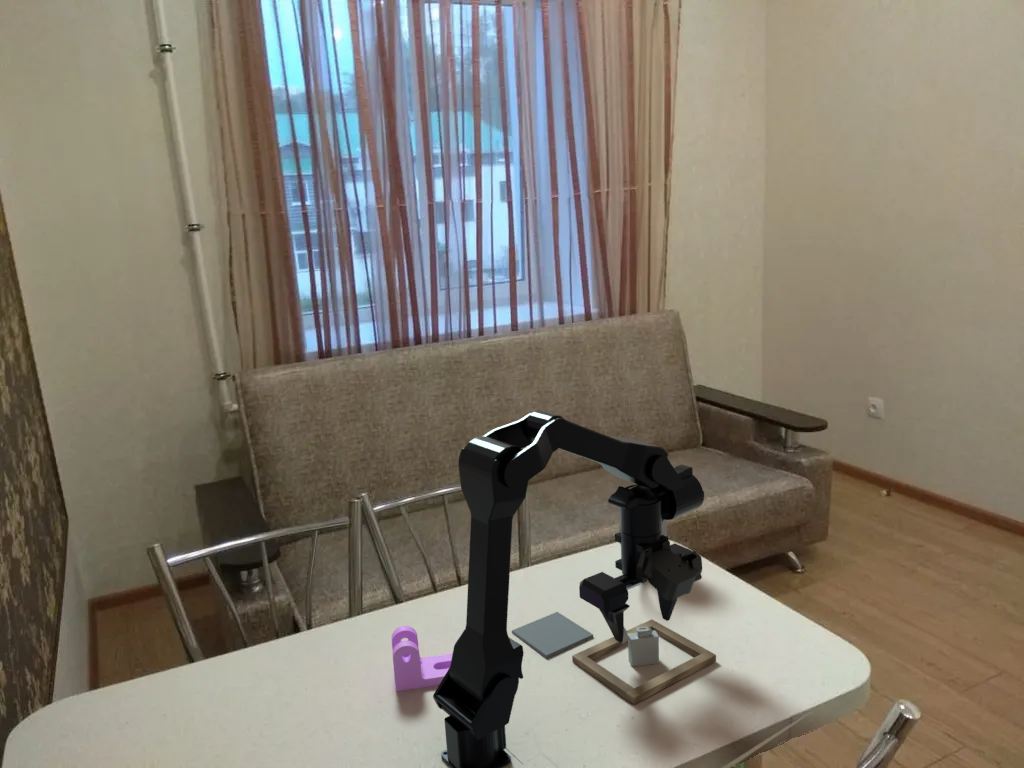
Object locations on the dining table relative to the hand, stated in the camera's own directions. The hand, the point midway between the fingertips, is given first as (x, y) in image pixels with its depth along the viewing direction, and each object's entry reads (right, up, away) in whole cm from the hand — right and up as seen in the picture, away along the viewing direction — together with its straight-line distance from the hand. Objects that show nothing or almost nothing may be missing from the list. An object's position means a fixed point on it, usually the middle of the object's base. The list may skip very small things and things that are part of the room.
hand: (643, 630), depth 115 cm
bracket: (-29, -7, +1) cm, 30 cm away
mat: (-13, -4, +9) cm, 16 cm away
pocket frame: (0, -5, +1) cm, 5 cm away
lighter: (-1, -5, +1) cm, 6 cm away
